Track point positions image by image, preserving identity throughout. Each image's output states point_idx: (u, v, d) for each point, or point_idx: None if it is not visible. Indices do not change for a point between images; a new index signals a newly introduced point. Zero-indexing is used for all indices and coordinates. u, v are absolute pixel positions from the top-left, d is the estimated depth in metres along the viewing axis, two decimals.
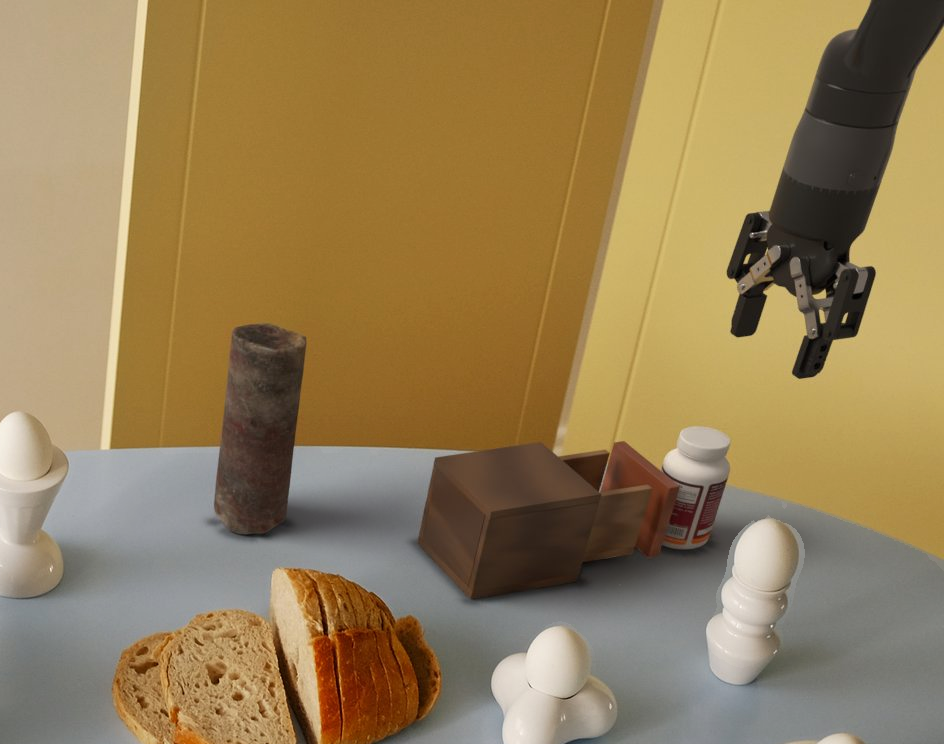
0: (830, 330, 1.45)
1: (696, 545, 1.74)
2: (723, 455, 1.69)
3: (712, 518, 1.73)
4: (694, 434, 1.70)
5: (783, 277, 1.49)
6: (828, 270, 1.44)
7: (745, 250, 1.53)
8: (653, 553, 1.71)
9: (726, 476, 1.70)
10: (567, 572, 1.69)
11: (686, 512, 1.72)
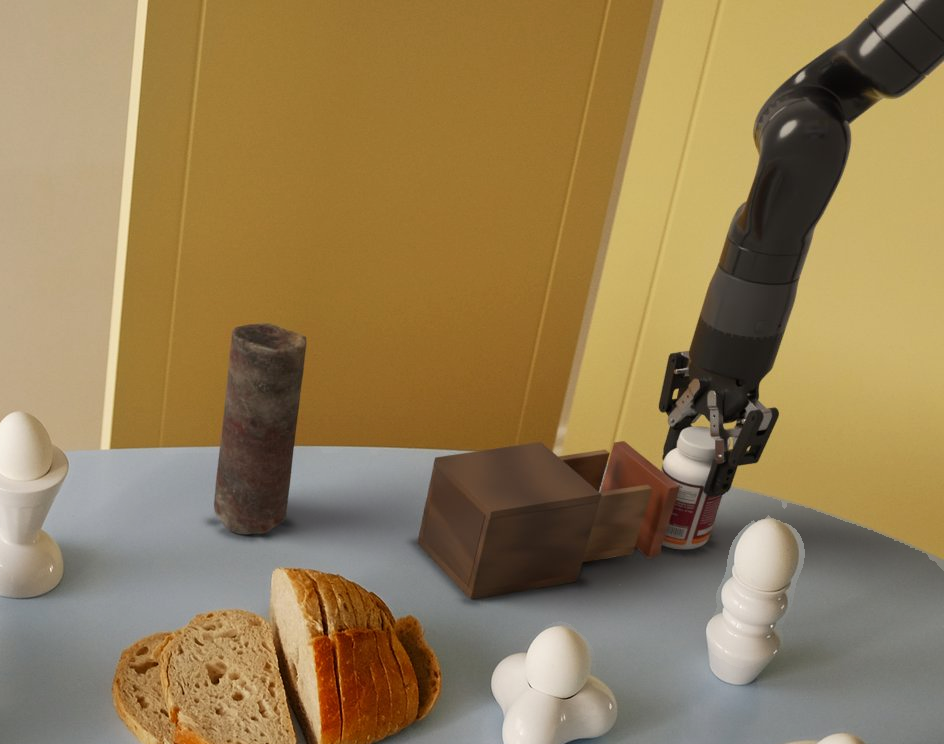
0: (734, 457, 1.64)
1: (696, 545, 1.74)
2: None
3: (712, 518, 1.73)
4: (694, 434, 1.70)
5: (702, 406, 1.68)
6: (740, 404, 1.63)
7: (672, 385, 1.71)
8: (653, 553, 1.71)
9: None
10: (567, 572, 1.69)
11: (686, 512, 1.72)
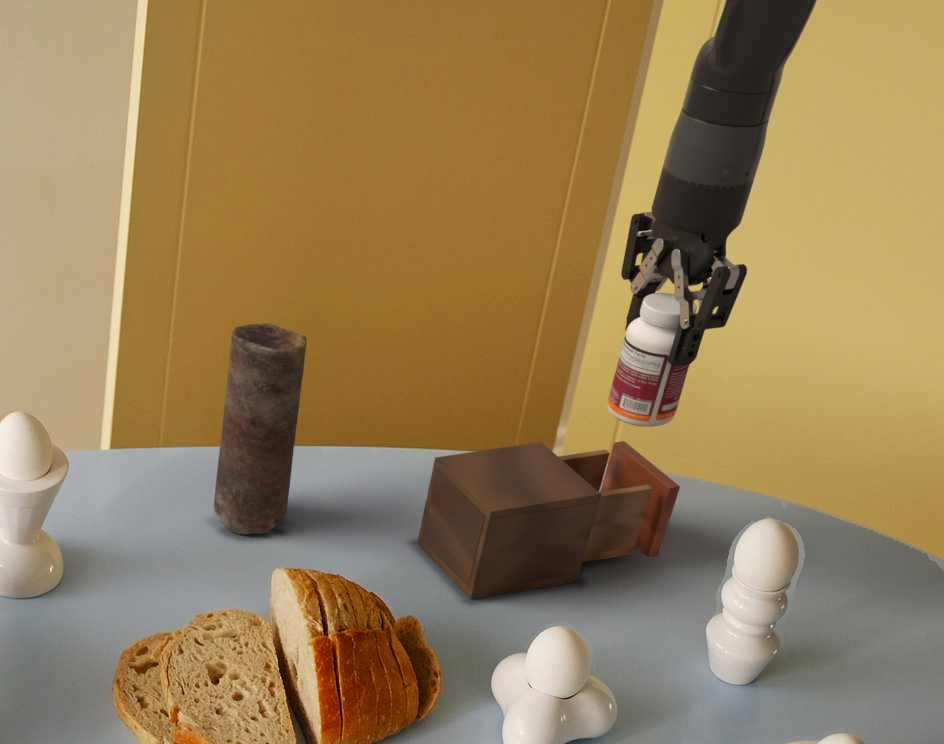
0: (700, 320, 1.54)
1: (661, 421, 1.63)
2: None
3: (678, 392, 1.62)
4: (658, 300, 1.59)
5: (667, 268, 1.57)
6: (706, 261, 1.52)
7: (635, 249, 1.61)
8: (653, 553, 1.71)
9: None
10: (567, 572, 1.69)
11: (650, 384, 1.61)
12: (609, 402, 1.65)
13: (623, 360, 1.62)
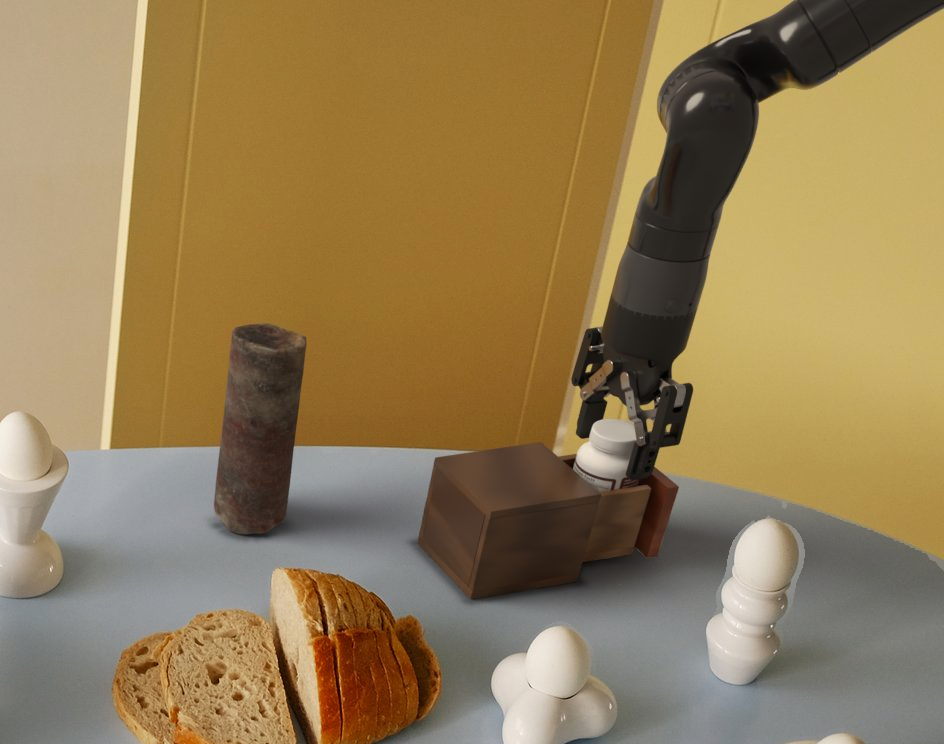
0: (655, 439, 1.60)
1: None
2: None
3: None
4: (606, 427, 1.67)
5: (616, 388, 1.64)
6: (652, 385, 1.59)
7: (586, 361, 1.68)
8: (652, 553, 1.71)
9: None
10: (567, 572, 1.69)
11: None
12: None
13: None
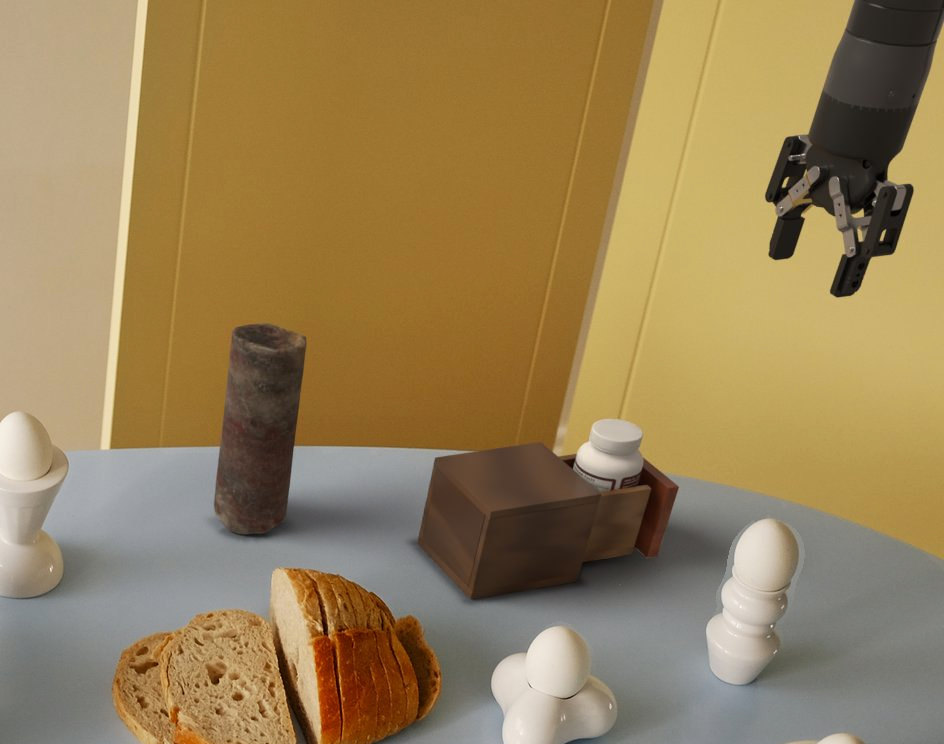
0: (868, 247, 1.49)
1: None
2: (635, 448, 1.66)
3: None
4: (606, 427, 1.67)
5: (822, 198, 1.53)
6: (867, 188, 1.48)
7: (784, 173, 1.57)
8: (652, 553, 1.71)
9: (639, 469, 1.67)
10: (567, 572, 1.69)
11: None
12: None
13: None
